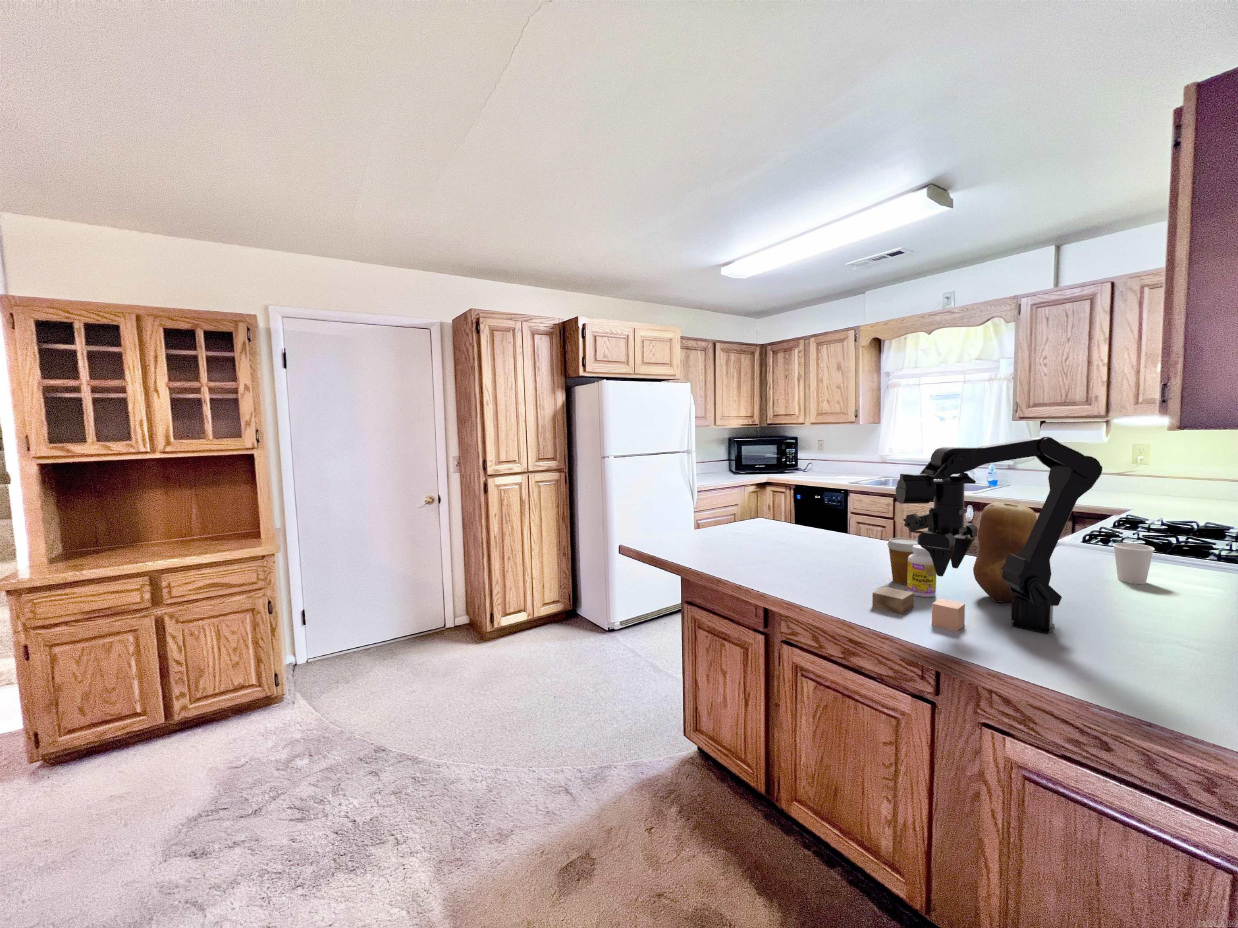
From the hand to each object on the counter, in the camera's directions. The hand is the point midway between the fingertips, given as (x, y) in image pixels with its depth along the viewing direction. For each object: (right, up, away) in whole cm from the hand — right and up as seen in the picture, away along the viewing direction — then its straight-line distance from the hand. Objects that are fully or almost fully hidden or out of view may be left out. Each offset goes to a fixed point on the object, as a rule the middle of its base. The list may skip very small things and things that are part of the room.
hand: (947, 571), depth 116 cm
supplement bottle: (+7, -11, +22) cm, 25 cm away
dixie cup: (+70, -9, +29) cm, 77 cm away
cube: (0, -12, 0) cm, 12 cm away
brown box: (-6, -12, +12) cm, 18 cm away
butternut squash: (+24, -11, +15) cm, 30 cm away
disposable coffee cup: (+8, -10, +32) cm, 35 cm away
